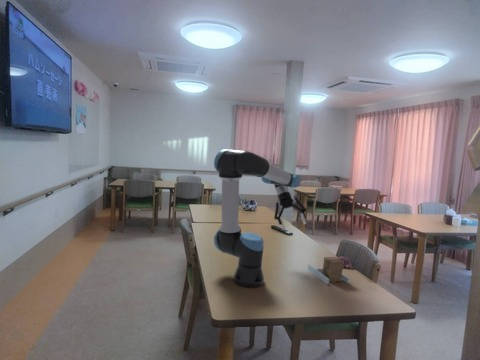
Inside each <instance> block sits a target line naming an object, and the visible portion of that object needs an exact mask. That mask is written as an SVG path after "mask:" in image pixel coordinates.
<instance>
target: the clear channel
mask: <svg viewBox="0 0 480 360" xmlns="http://www.w3.org/2000/svg"><path fill="white" fill-rule="evenodd" d="M307 270H308V271H309V272H310V273H312V274H313V275H314V276H316V277H317V278H318V279H319V280H320V281H322V282H323V283H324V282H325V283H326V285H327V284H329V285H330V283H329V279H328V278H327V277H326V276H324V275H323V274H322V273H323V268H315V267H314V266H313V265H312V264H310V263H308V266H307ZM341 279H342V280H341V281H343V280H344V281H345V282H347V283H348V284H349V282H350V278H349V277H348V276H347V275H345V274H343V273H342V277H341ZM344 281H343V282H344ZM345 282H344V283H345ZM325 283H324V284H325ZM347 283H346V284H347Z"/></svg>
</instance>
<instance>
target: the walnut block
mask: <svg viewBox="0 0 480 360" xmlns="http://www.w3.org/2000/svg"><path fill="white" fill-rule="evenodd" d="M343 263H344V262H343V261H341V260H340V259H338V258H336V256H327V257H326V256H325V257H323V266H322V269H323V273H322V274H323V275H324V276H326V277H327V278H328V279H329V282H331V283H336V282H335V281H341V282H342V280H341V277H342V274H343V267H344V266H343Z"/></svg>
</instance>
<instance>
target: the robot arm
mask: <svg viewBox="0 0 480 360" xmlns="http://www.w3.org/2000/svg"><path fill="white" fill-rule="evenodd" d="M213 166H214V169H215V170H216V171H217V172H218V177H219V178H220V179H221V225H220V226H219V228H218V230H216V232H215V235H214V237H213V243H214V246H215V248H216V249H217V250H218V251H220V252H221V253H222V254H227V255H230V256H233V257H236V258H238V262H237V263H238V264H237V267H236V269H235V272H234V274H233V282H234V283H235V284H236V285H238V286H240V287H245V288H251V289H252V288H258V287H261V286H263V284H264V282H265V276H264V272H263V269H262V268H263V267H262V264H263V257H264V256H263V253H264V248H265V247H264V239H263V237H262V236H261V235H259V234H256V233H254V232H249V231H244V232H242V227H241V226H240V225H239V211H240V210H239V209H240V208H239V207H240V206H239V204H240V203H239V202H240V201H239V199H240V197H239V196H240V194H239V193H240V180H241V179H242V178H243V176H250V177H251V176H252V177H256V178H261V181H262V182H263V183H265V184H269V185H274V188H275V191H276V195H277V197H278V201H279V202H276V203H275V212H274V216H273V217H274V219H273V220H276V221H277V222H278V225H280V226H281V229H282V231H284V230H286V228H285V225H284V222H283V218H281V217H282V214H283V213H284V210H285V209H289V208H292V209H294V210H295V211H298V212H299V213H300V217H301V221H302V223H303V225H307V220H306V217H307V216H306V214H305V212H306V211H307V208H305V206H304V205H303V204H302V203H301V202H300V201H299V200H298V198H297V197H295V198H293V197H292V196H291V195H292V194H291V192H290V190H289V188H294V189H296V188H298V187H299V186H300V183H301V177H300V175H299V174H295V173H290V172H288V171H286V170H284V169H282V168H279V167H278V166H276V165H274V164H271V163H270V162H269V161H268V159H266V158H264V157H262V156H260V155H258V154H256V153H254V152H252V151H249V150H237V149H229V148H228V149H227V148H225V149H222V150H219V151H218V152H217V154H216V156H215V157H214V161H213ZM279 207H281V209H280V211H279ZM278 212H279V213H278Z"/></svg>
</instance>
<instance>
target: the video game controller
mask: <svg viewBox="0 0 480 360" xmlns="http://www.w3.org/2000/svg"><path fill="white" fill-rule="evenodd" d="M335 257H336V256H335ZM336 258H338V259H340V260H341V261H343V267H344V268H345V267H347V266H348V268H349V269H350V270H351V269H353V268H352V267H353V266H352V262H351V260H350V258H348V257H345V256H337V257H336Z"/></svg>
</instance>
